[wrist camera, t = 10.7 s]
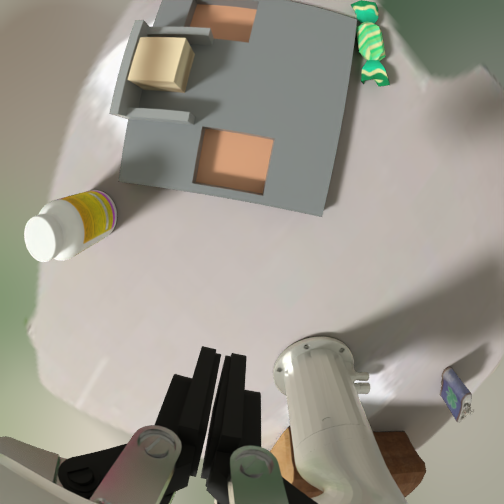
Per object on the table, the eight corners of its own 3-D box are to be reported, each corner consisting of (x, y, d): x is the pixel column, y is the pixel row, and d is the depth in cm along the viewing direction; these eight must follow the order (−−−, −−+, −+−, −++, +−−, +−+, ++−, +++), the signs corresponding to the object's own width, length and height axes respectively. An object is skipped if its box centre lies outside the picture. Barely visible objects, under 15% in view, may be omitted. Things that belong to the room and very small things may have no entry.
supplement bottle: (97, 179, 33) (36, 190, 21) (128, 215, 35) (74, 242, 23) (70, 213, 35) (10, 237, 22) (99, 247, 36) (45, 284, 24)
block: (194, 54, 27) (185, 38, 22) (184, 92, 28) (173, 81, 23) (154, 52, 26) (140, 37, 22) (144, 89, 28) (127, 79, 23)
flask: (441, 369, 43) (467, 404, 33) (453, 363, 43) (480, 396, 33) (438, 397, 46) (460, 430, 36) (449, 391, 46) (471, 423, 36)
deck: (351, 27, 27) (371, 2, 20) (317, 213, 35) (333, 226, 28) (170, -1, 26) (155, -28, 19) (126, 180, 33) (98, 185, 26)
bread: (368, 468, 54) (382, 516, 38) (257, 465, 51) (258, 525, 36) (409, 426, 49) (434, 478, 33) (288, 420, 46) (296, 494, 31)
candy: (391, 87, 29) (386, 78, 26) (366, 87, 31) (358, 78, 28) (380, 12, 26) (373, -2, 22) (356, 14, 27) (348, 0, 24)
